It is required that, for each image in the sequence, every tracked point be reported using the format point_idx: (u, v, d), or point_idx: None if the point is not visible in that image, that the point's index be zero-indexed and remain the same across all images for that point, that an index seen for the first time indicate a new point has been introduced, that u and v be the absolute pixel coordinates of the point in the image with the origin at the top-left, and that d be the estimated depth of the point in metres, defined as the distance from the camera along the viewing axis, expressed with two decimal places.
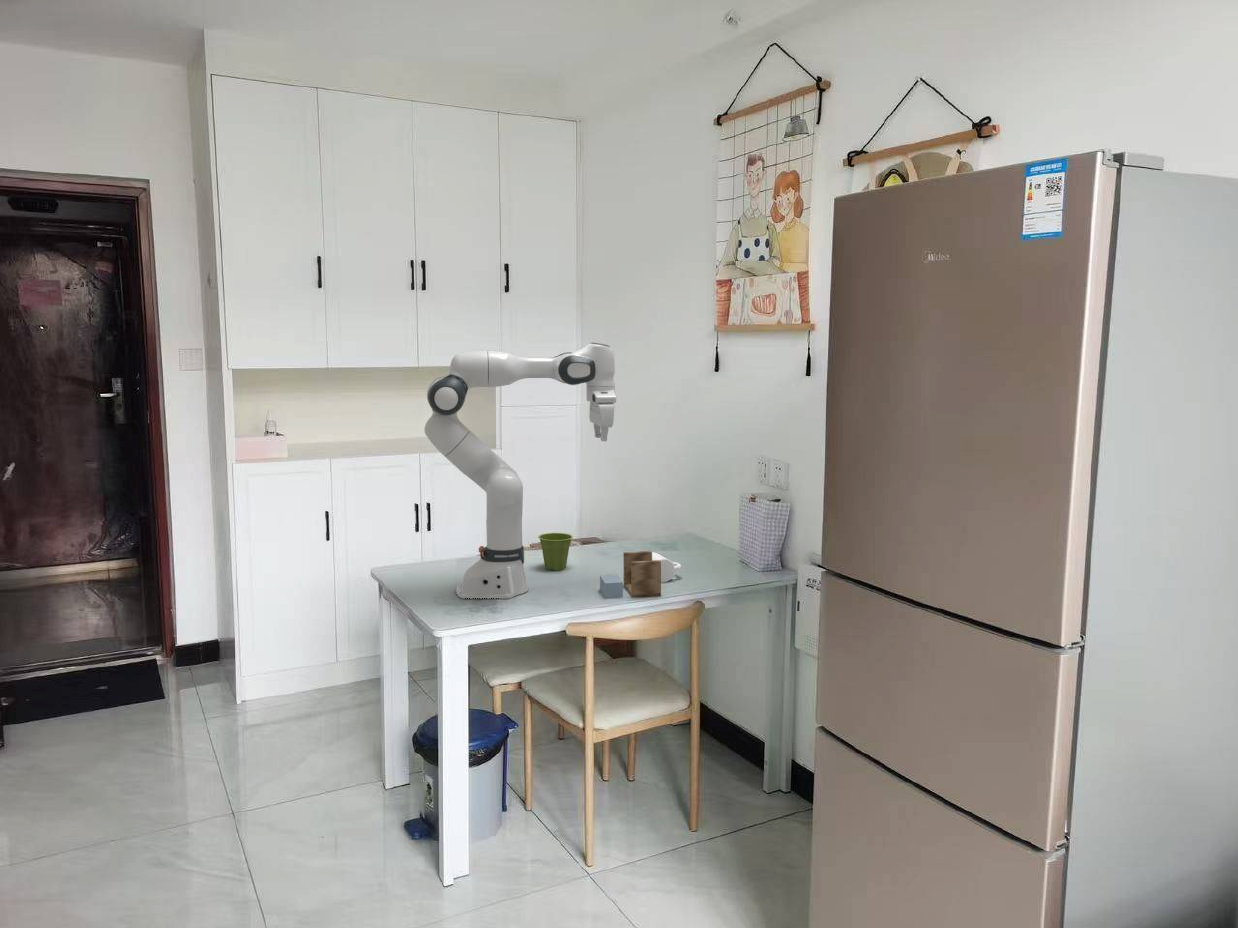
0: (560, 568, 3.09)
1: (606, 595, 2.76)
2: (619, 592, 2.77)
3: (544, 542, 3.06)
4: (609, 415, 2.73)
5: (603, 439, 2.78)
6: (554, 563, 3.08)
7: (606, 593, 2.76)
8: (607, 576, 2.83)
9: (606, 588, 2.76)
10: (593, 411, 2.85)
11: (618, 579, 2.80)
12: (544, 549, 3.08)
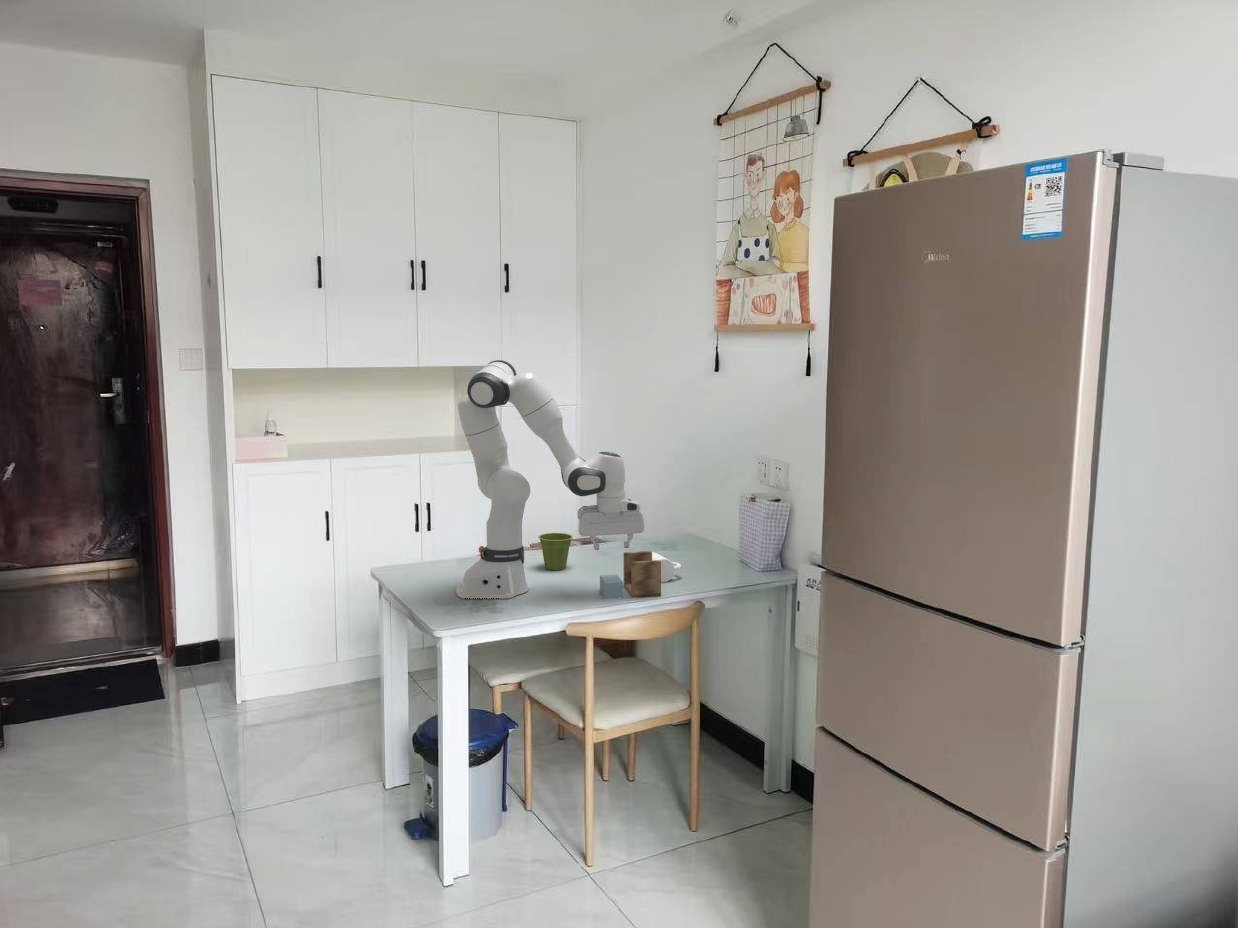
0: (560, 568, 3.09)
1: (606, 595, 2.76)
2: (619, 592, 2.77)
3: (544, 542, 3.06)
4: None
5: None
6: (554, 563, 3.08)
7: (606, 593, 2.76)
8: (607, 576, 2.83)
9: (606, 588, 2.76)
10: (603, 522, 2.76)
11: (618, 579, 2.80)
12: (544, 549, 3.08)
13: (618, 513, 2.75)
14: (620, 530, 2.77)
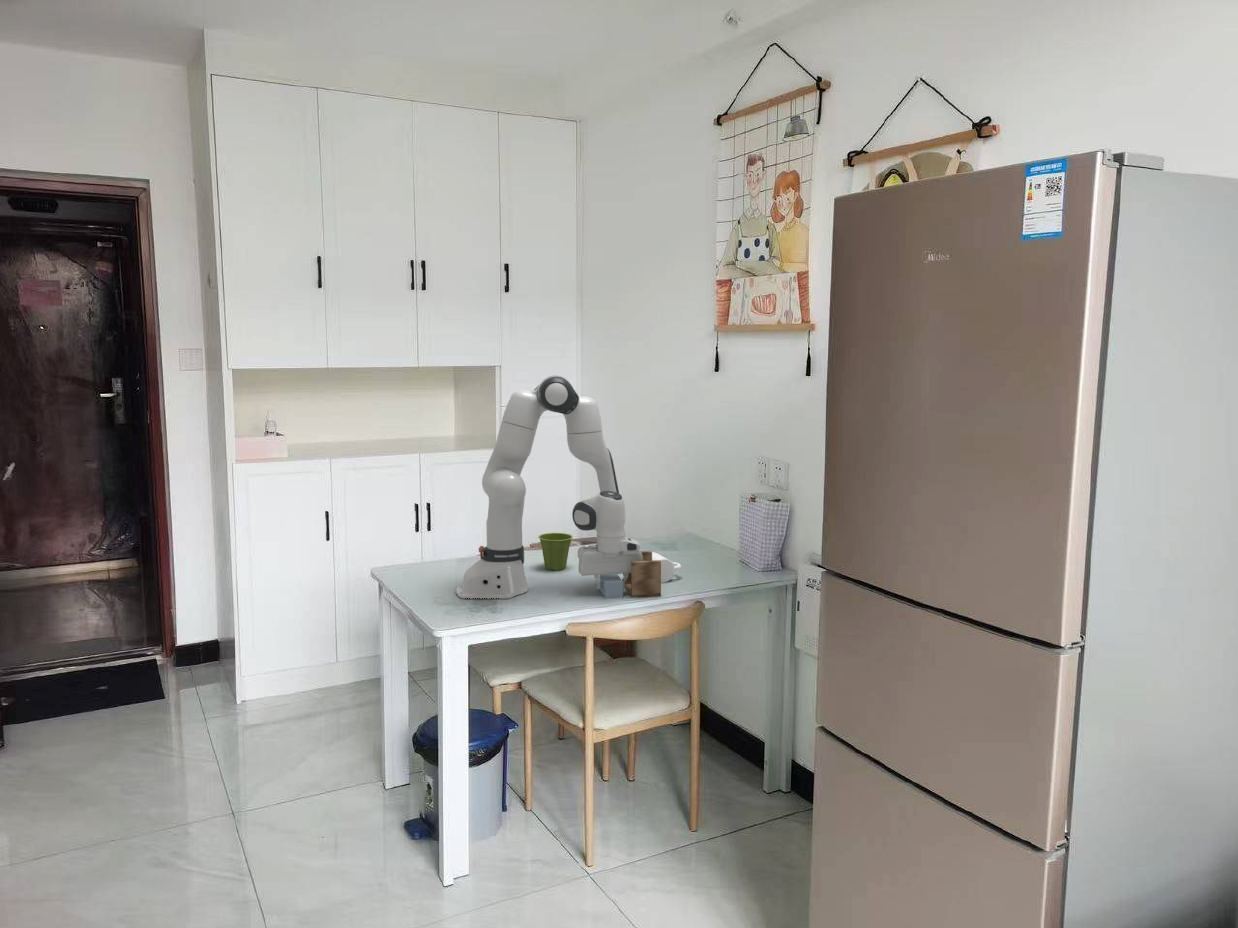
0: (560, 568, 3.09)
1: (606, 594, 2.76)
2: (619, 591, 2.77)
3: (544, 542, 3.06)
4: None
5: None
6: (554, 563, 3.08)
7: (606, 592, 2.76)
8: (607, 575, 2.83)
9: (606, 587, 2.76)
10: (603, 562, 2.78)
11: (618, 578, 2.80)
12: (544, 549, 3.08)
13: (618, 553, 2.77)
14: (620, 570, 2.79)
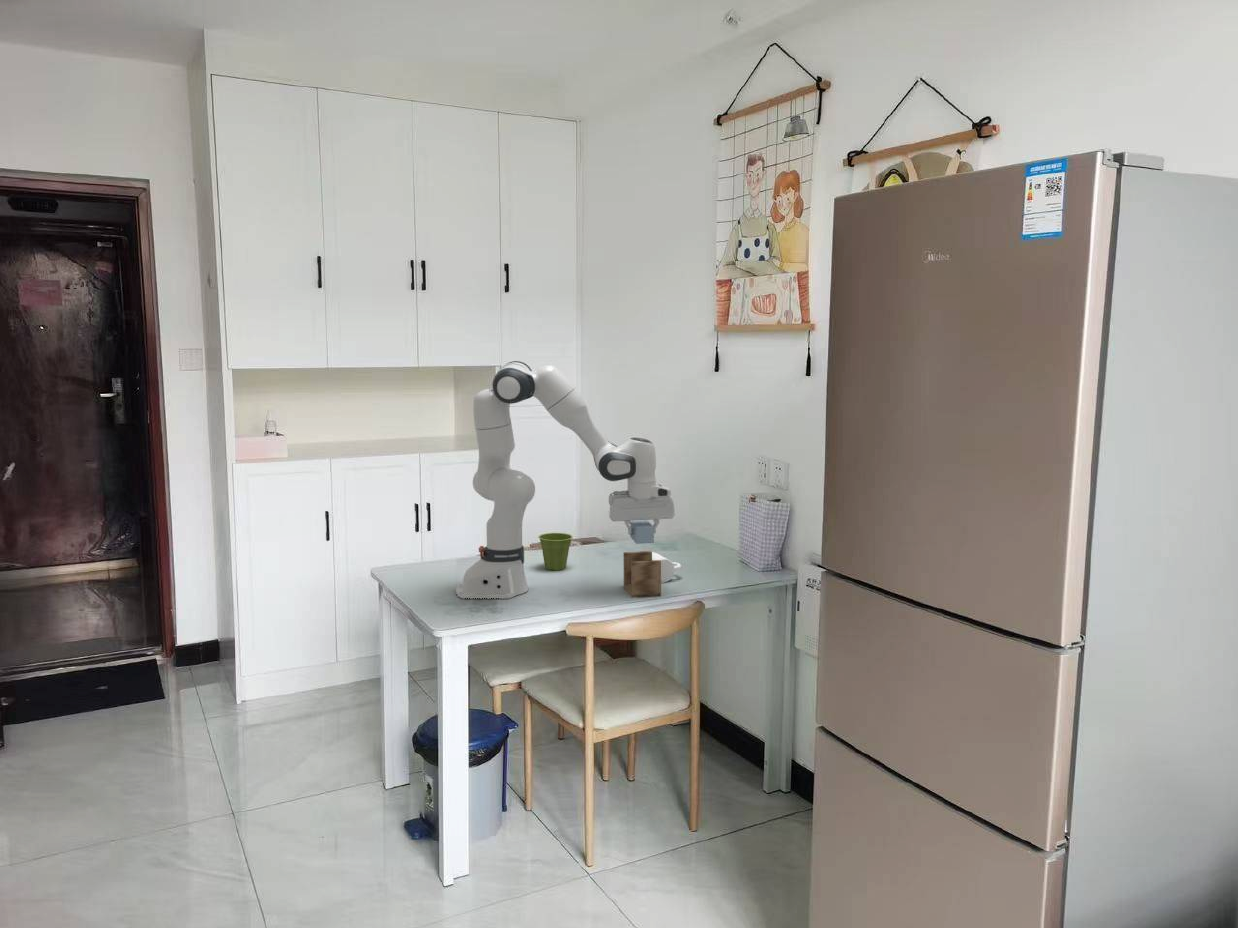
0: (560, 568, 3.09)
1: (637, 540, 2.77)
2: (650, 537, 2.77)
3: (544, 542, 3.06)
4: None
5: None
6: (554, 563, 3.08)
7: (637, 538, 2.76)
8: (637, 522, 2.84)
9: (637, 533, 2.76)
10: (634, 508, 2.78)
11: (649, 524, 2.80)
12: (544, 549, 3.08)
13: (649, 498, 2.78)
14: (651, 515, 2.79)
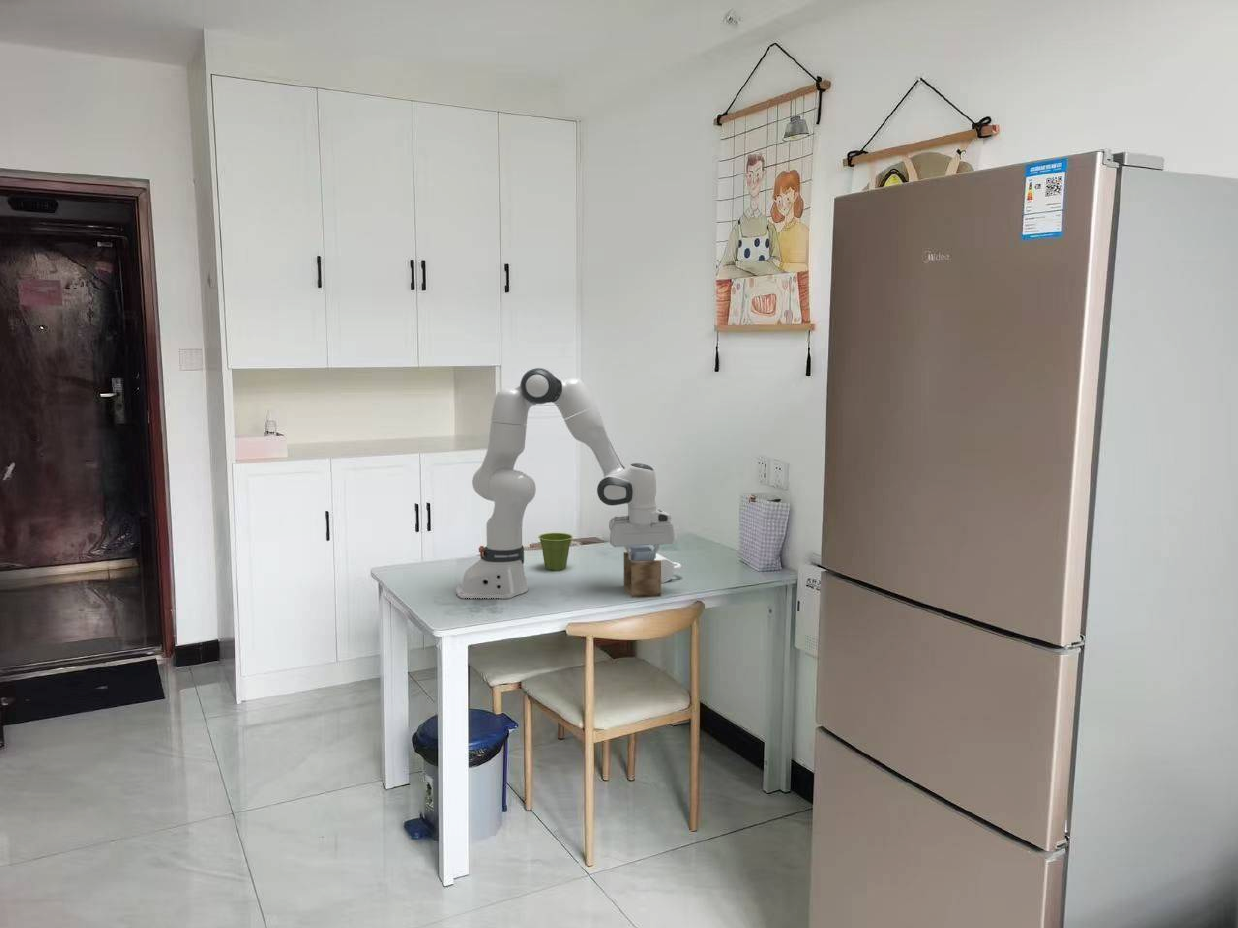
0: (560, 568, 3.09)
1: None
2: None
3: (544, 542, 3.06)
4: None
5: None
6: (554, 563, 3.08)
7: None
8: (637, 546, 2.85)
9: (638, 558, 2.78)
10: (634, 533, 2.79)
11: (649, 549, 2.82)
12: (544, 549, 3.08)
13: (649, 524, 2.79)
14: (651, 541, 2.81)
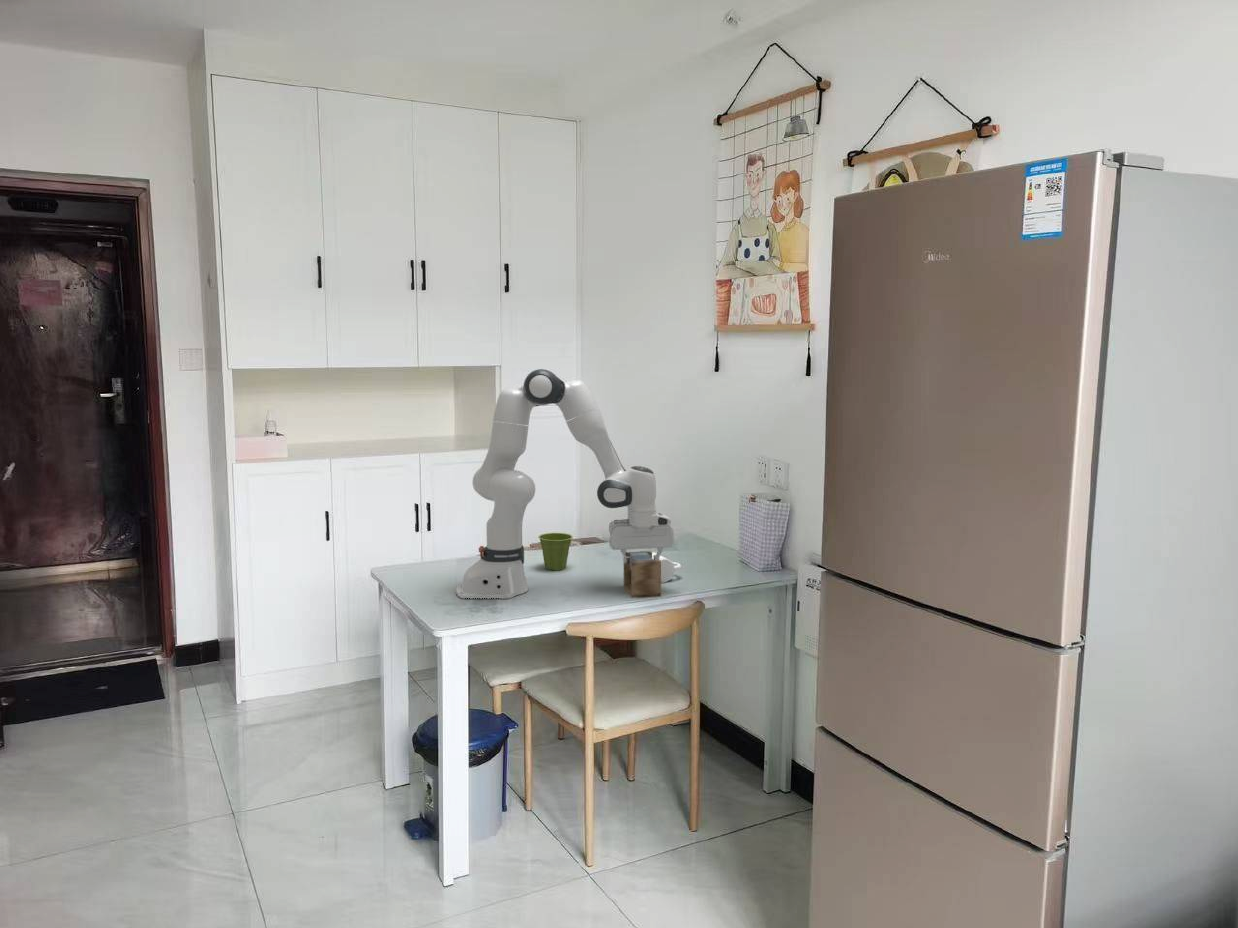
0: (560, 568, 3.09)
1: None
2: None
3: (544, 542, 3.06)
4: None
5: None
6: (554, 563, 3.08)
7: None
8: (637, 554, 2.85)
9: None
10: (634, 536, 2.79)
11: (649, 557, 2.82)
12: (544, 549, 3.08)
13: (649, 527, 2.79)
14: (650, 544, 2.81)
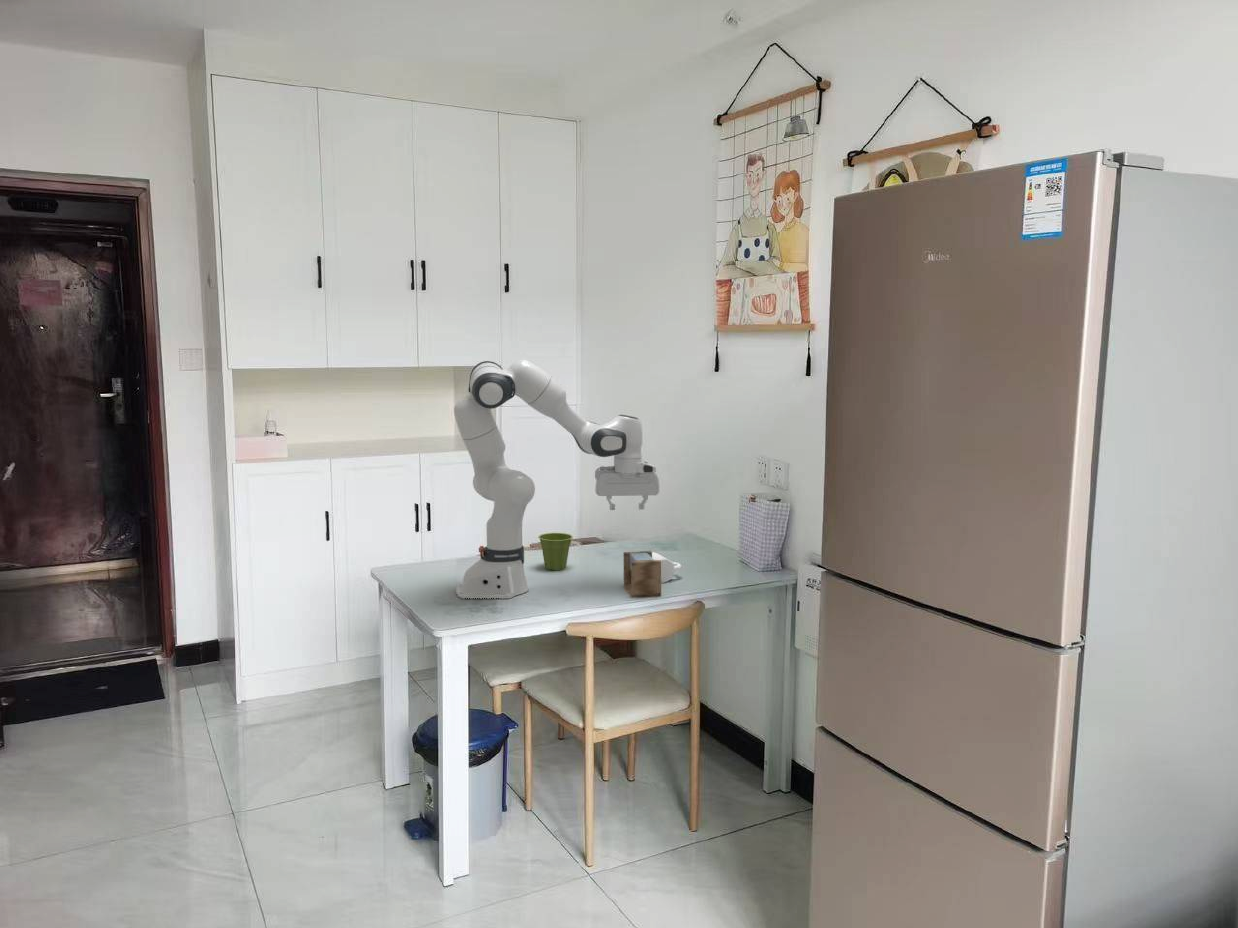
0: (560, 568, 3.09)
1: None
2: None
3: (544, 542, 3.06)
4: None
5: None
6: (554, 563, 3.08)
7: None
8: (637, 554, 2.85)
9: None
10: (619, 483, 2.84)
11: (649, 557, 2.82)
12: (544, 549, 3.08)
13: (634, 474, 2.83)
14: (636, 491, 2.85)
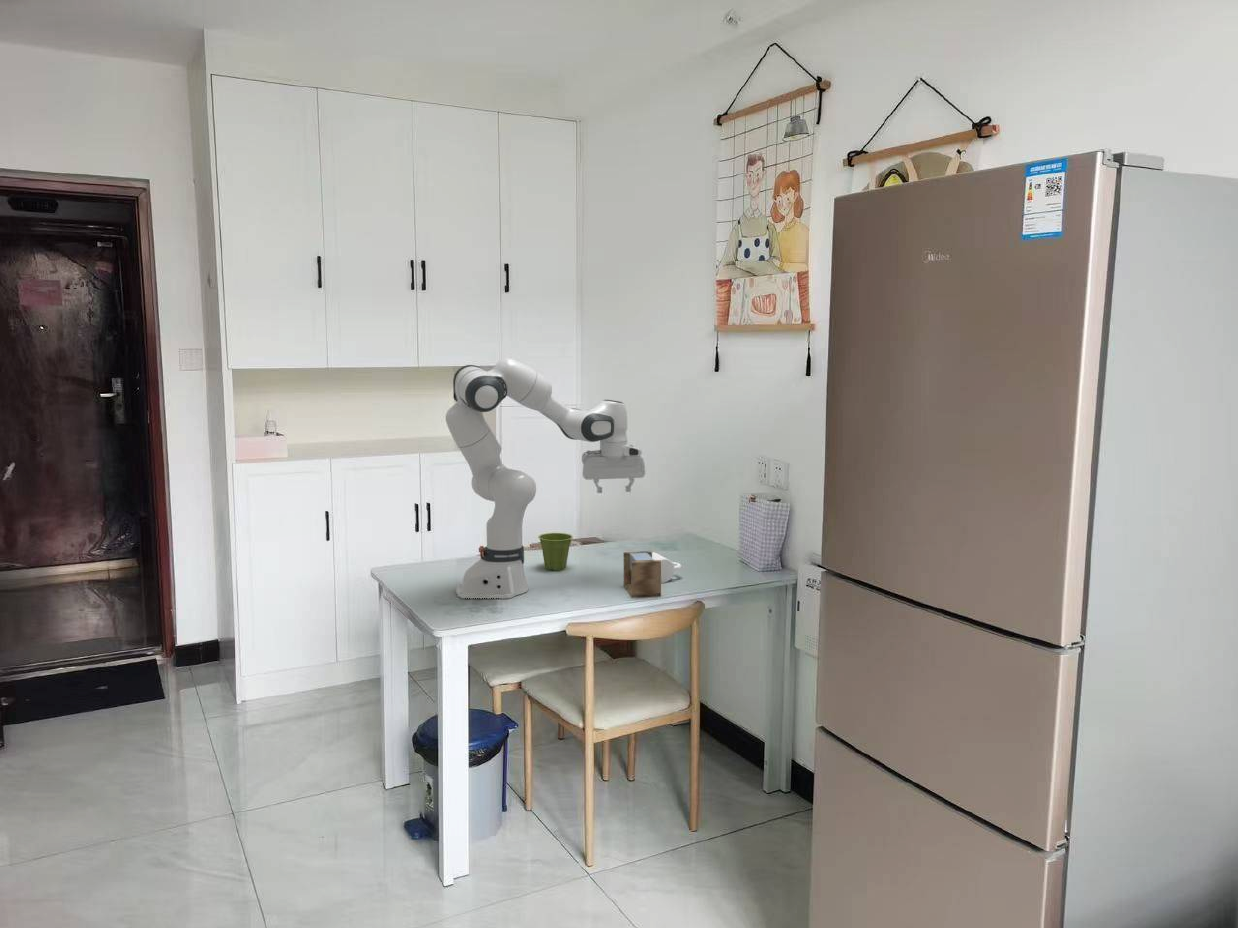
0: (560, 568, 3.09)
1: None
2: None
3: (544, 542, 3.06)
4: None
5: None
6: (554, 563, 3.08)
7: None
8: (637, 554, 2.85)
9: None
10: (606, 467, 2.90)
11: (649, 557, 2.82)
12: (544, 549, 3.08)
13: (620, 458, 2.90)
14: (622, 474, 2.91)
